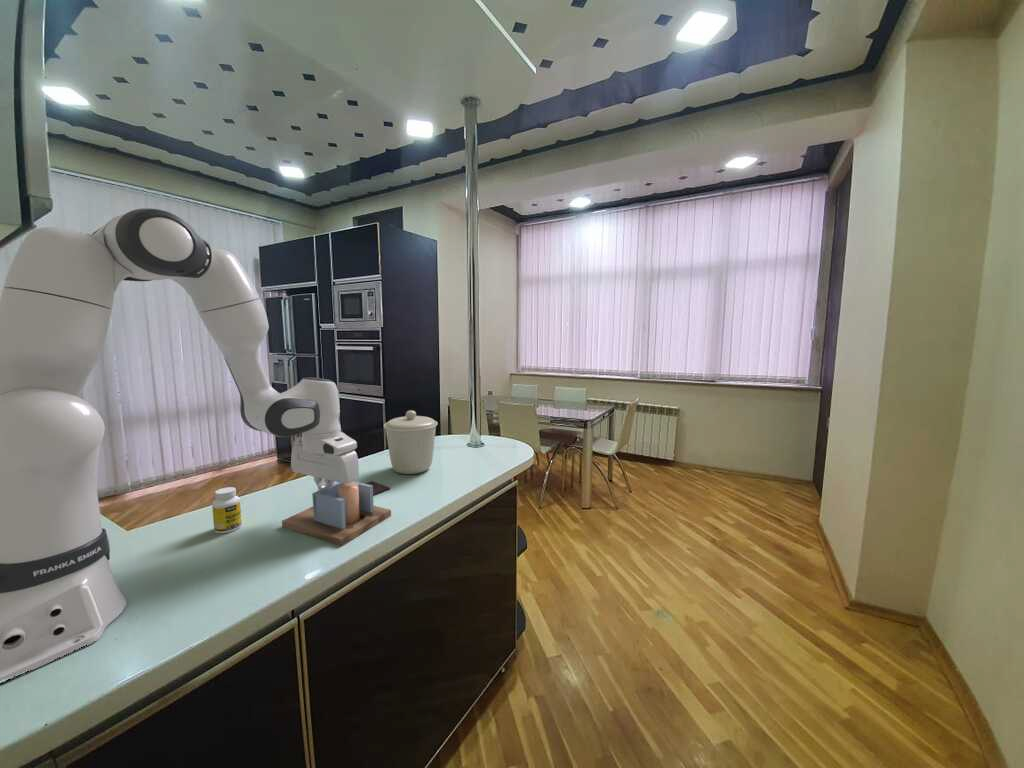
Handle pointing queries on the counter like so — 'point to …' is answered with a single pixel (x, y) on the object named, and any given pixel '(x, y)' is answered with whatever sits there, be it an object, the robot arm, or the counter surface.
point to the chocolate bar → (378, 488)
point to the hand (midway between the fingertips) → (325, 493)
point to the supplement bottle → (226, 510)
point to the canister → (411, 442)
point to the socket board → (332, 534)
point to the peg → (350, 502)
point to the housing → (339, 504)
